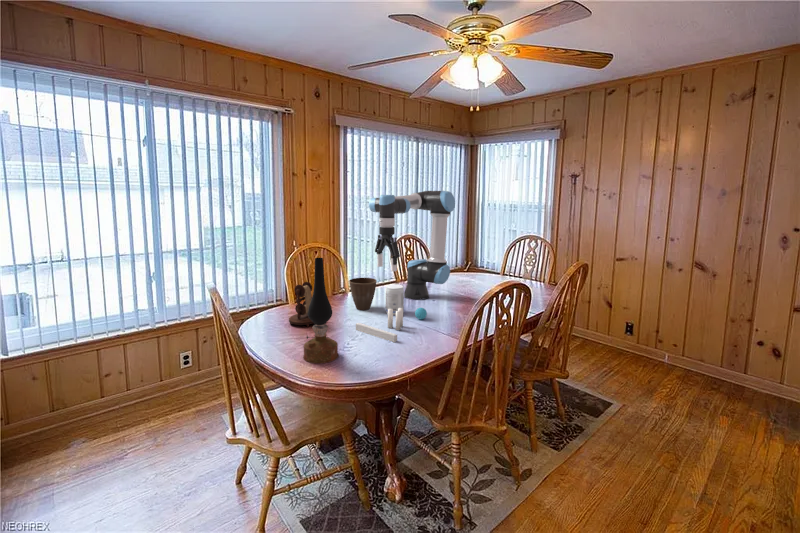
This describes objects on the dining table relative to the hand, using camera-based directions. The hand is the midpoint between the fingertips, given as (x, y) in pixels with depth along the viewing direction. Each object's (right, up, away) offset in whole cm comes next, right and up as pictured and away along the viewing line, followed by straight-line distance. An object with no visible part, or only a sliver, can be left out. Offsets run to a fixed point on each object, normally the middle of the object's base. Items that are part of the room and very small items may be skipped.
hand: (386, 268), depth 209 cm
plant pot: (-14, -22, +21) cm, 34 cm away
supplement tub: (+4, -24, +14) cm, 28 cm away
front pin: (+7, -28, -8) cm, 30 cm away
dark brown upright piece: (-40, -27, -5) cm, 49 cm away
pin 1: (+2, -28, -10) cm, 30 cm away
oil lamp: (-24, -34, -45) cm, 62 cm away
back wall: (-4, -30, -21) cm, 37 cm away
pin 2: (+6, -29, -13) cm, 32 cm away
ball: (+17, -23, +3) cm, 29 cm away
